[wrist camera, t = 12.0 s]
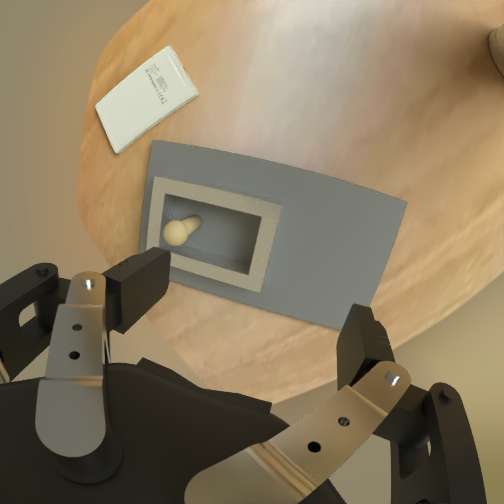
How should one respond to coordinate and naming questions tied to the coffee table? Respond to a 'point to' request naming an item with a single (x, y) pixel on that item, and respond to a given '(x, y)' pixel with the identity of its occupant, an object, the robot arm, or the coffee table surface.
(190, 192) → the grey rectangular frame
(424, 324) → the coffee table surface
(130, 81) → the external hard drive
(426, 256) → the coffee table surface
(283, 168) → the board
